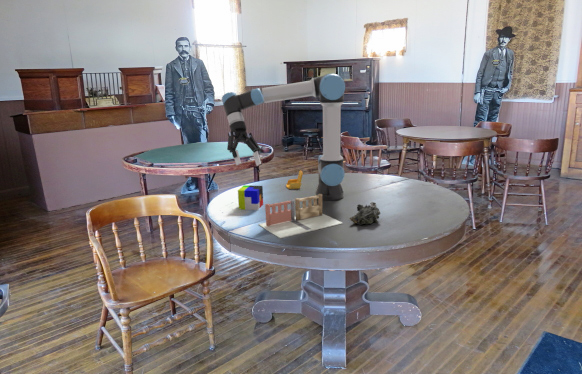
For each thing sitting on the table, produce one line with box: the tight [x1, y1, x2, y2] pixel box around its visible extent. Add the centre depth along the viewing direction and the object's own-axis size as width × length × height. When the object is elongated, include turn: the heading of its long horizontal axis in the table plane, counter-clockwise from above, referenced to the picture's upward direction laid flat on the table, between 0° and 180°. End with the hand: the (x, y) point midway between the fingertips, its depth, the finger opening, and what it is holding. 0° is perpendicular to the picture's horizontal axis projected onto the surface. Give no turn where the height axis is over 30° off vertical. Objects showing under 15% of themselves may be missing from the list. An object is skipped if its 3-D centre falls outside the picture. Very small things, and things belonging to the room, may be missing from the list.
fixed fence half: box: [294, 194, 323, 220], centre depth 205 cm, size 14×2×10 cm, turn 120°
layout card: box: [258, 213, 344, 239], centre depth 198 cm, size 32×20×1 cm, turn 120°
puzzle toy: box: [237, 184, 264, 211], centre depth 225 cm, size 10×10×10 cm
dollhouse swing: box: [285, 170, 304, 190], centre depth 262 cm, size 10×10×9 cm
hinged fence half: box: [264, 199, 296, 226], centre depth 197 cm, size 14×2×10 cm, turn 120°
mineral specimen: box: [349, 201, 381, 226], centre depth 198 cm, size 15×13×10 cm
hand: (249, 164), depth 207 cm, fingers open, 13 cm apart
